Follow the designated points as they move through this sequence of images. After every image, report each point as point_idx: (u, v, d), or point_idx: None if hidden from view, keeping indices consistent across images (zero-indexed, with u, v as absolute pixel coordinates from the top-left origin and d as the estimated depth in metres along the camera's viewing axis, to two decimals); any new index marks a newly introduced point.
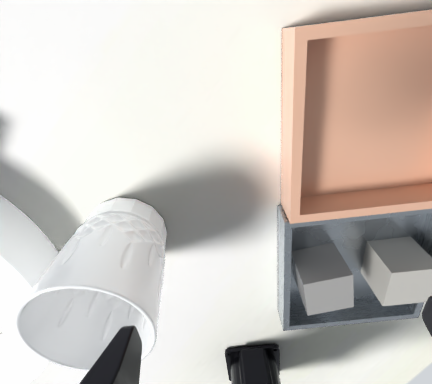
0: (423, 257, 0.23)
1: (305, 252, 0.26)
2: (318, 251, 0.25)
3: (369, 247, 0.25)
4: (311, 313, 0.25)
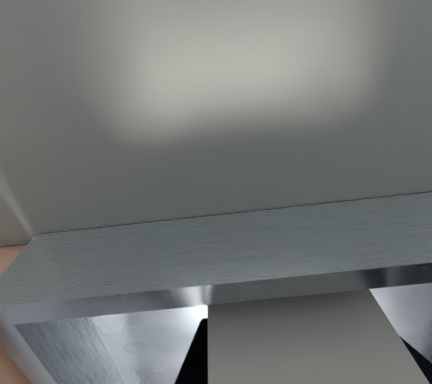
0: None
1: None
2: None
3: None
4: None
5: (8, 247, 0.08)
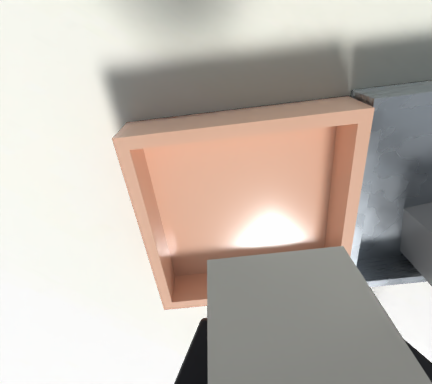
0: None
1: (405, 242, 0.21)
2: (408, 232, 0.20)
3: None
4: None
5: (334, 98, 0.16)
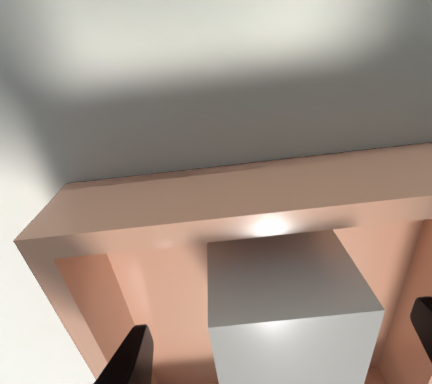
0: None
1: None
2: None
3: None
4: None
5: None
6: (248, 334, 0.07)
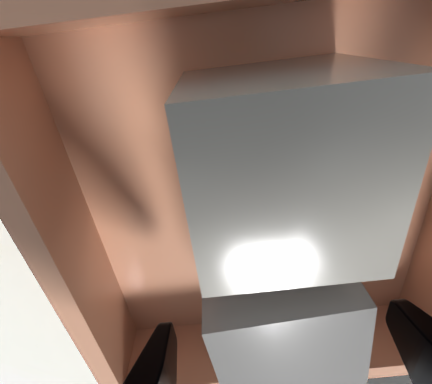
0: None
1: None
2: None
3: None
4: None
5: None
6: (230, 123, 0.04)
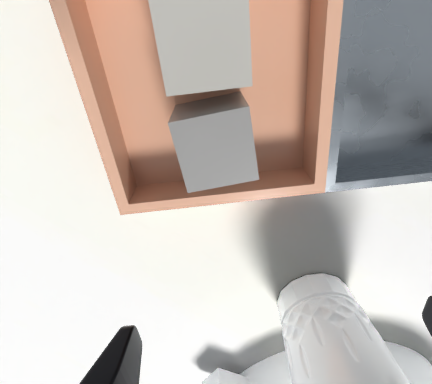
0: None
1: None
2: None
3: None
4: (254, 174, 0.15)
5: None
6: (170, 0, 0.11)
